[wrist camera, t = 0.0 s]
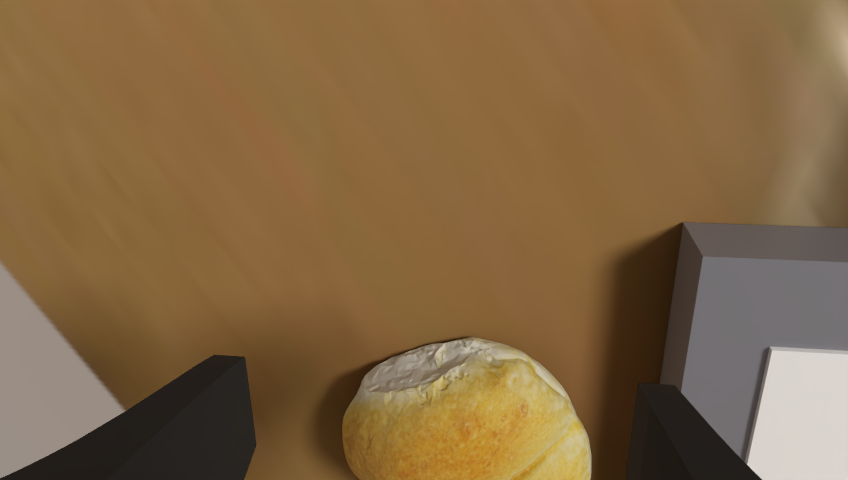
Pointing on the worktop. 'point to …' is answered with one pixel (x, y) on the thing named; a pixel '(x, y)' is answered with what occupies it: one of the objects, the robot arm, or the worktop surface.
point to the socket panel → (765, 343)
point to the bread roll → (464, 418)
